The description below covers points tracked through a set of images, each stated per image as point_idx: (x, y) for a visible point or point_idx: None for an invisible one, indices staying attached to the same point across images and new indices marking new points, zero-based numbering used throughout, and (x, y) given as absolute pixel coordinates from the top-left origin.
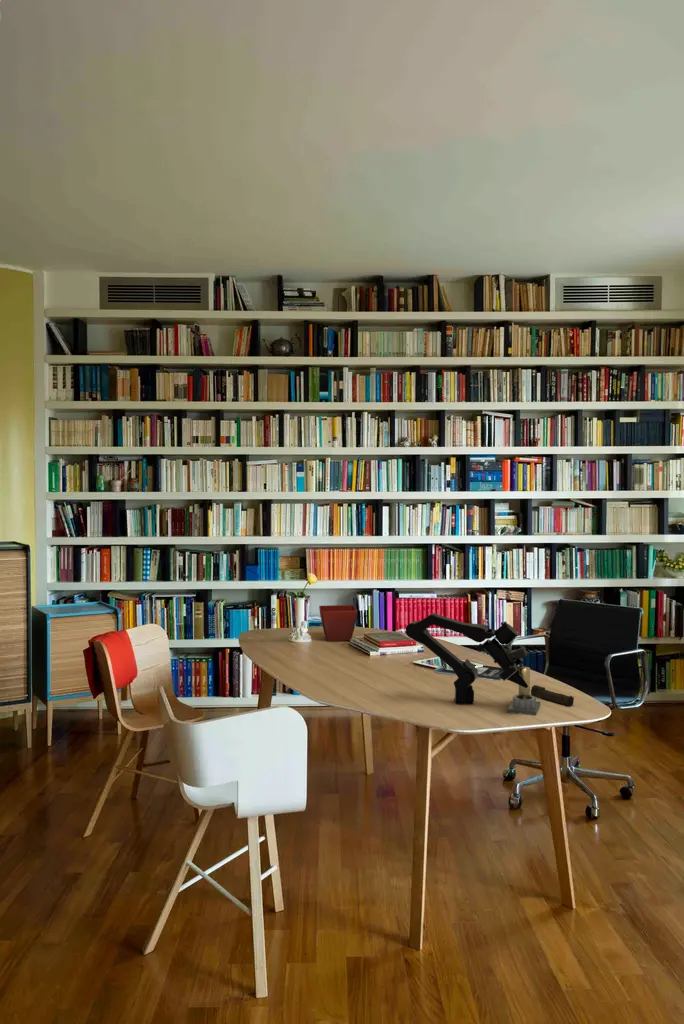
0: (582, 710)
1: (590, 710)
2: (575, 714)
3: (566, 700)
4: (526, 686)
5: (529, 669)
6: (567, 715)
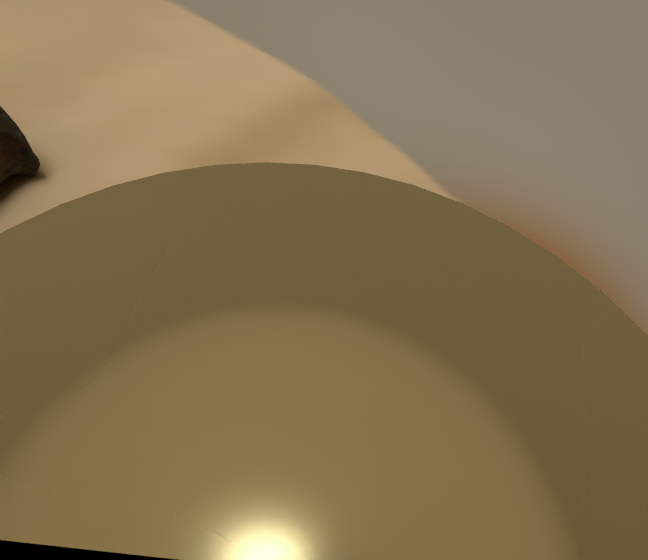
0: (128, 72)
1: (108, 31)
2: (273, 102)
3: (9, 139)
4: None
5: (375, 209)
6: (334, 146)
